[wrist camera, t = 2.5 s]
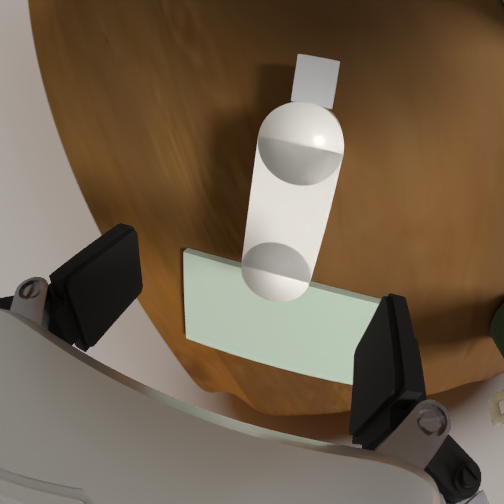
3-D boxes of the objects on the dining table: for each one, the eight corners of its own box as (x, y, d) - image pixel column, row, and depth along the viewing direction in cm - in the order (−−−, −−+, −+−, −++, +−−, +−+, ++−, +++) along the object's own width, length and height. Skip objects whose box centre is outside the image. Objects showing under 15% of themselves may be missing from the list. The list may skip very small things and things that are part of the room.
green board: (398, 303, 23) (399, 309, 22) (352, 379, 29) (352, 384, 29) (187, 247, 26) (183, 251, 26) (189, 333, 33) (186, 338, 32)
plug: (353, 72, 15) (360, 58, 10) (311, 262, 24) (301, 309, 19) (290, 59, 16) (271, 43, 11) (260, 249, 24) (237, 291, 19)
